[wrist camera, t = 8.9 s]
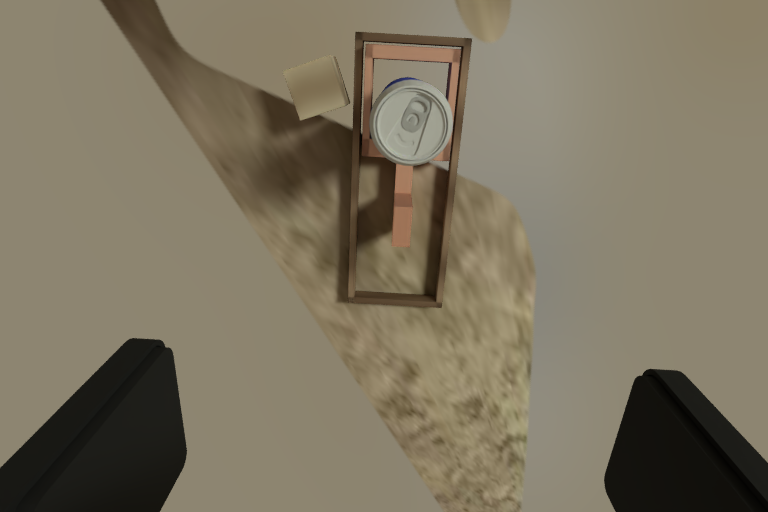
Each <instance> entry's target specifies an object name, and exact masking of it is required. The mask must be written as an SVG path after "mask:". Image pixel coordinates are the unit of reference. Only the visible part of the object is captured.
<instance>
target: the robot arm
mask: <svg viewBox="0 0 768 512" xmlns="http://www.w3.org/2000/svg"><path fill="white" fill-rule="evenodd" d="M186 449H187V448H186V441H185V434H184V427H183V420H182V413H181V406H180V399H179V392H178V385H177V378H176V370H175V364H174V356H173V352H172V350H171V349H170V348H166V347H165V345H164V343H163V341H161V340H154V339H137V338H132V339H129V340H128V341H126V342H125V343H124V344H123V345H122V346H121V347H120V348H119V349H118V350H117V351H116V352H115V353H114V354H113V355H112V356H111V357H110V358H109V359H108V360H107V361H106V362H105V363H104V364H103V365H102V366H101V367H100V368H99V370H97V371H96V372H95V373H94V374H93V375H92V376H91V377H90V378H89V379H88V381H86V382H85V383H84V384H83V385H82V386H81V387H80V389H78V390H77V391H76V392H75V394H73V395H72V396H71V397H70V399H68V400H67V401H66V402H65V403H64V404H63V406H61V407H60V409H58V410H57V412H56V413H55V414H54V415H53V416H52V417H51V418H50V419H49V420H48V421H47V422H46V423H45V424H44V425H43V426H42V427H41V428H40V429H39V430H38V431H37V432H36V433H35V434H34V435H33V436H32V437H31V438H30V439H29V440H28V441H27V442H26V443H25V444H24V445H23V446H22V447H21V448H20V449H19V450H18V451H17V452H16V453H15V454H14V455H13V456H12V457H11V458H10V459H9V460H8V461H7V462H6V463H5V464H4V465H3V466H2V467H1V468H0V512H160V510H161V508H162V506H163V505H164V503H165V501H166V499H167V497H168V495H169V493H170V492H171V490H172V488H173V486H174V484H175V482H176V480H177V478H178V477H179V475H180V473H181V471H182V469H183V467H184V463H185V460H186V454H187V450H186ZM604 482H605V489H606V493H607V495H608V497H609V499H610V501H611V503H612V505H613V507H614V509H615V511H616V512H768V463H767V462H766V461H765V459H763V458H762V456H761V455H760V454H759V453H758V452H757V451H756V450H755V449H754V448H753V447H752V446H751V445H750V443H748V442H747V440H746V439H745V438H744V437H743V436H742V435H741V434H740V433H739V432H738V431H737V430H736V429H735V428H734V427H733V426H732V424H731V423H730V422H729V421H728V420H727V419H726V418H725V417H724V416H723V415H722V414H721V413H720V412H719V411H718V409H717V408H716V407H714V405H713V404H712V403H711V402H710V401H709V400H708V399H707V398H706V397H705V396H704V395H703V394H702V393H701V391H700V390H699V389H698V388H697V387H696V386H695V385H694V384H693V383H692V382H691V381H690V380H689V379H688V378H687V377H686V376H685V375H684V374H683V373H682V372H680V371H674V370H657V369H648V370H646V371H645V372H644V373H643V375H642V376H638V377H637V378H635V380H634V383H633V386H632V389H631V392H630V395H629V399H628V402H627V405H626V408H625V412H624V415H623V418H622V421H621V424H620V428H619V431H618V434H617V438H616V440H615V444H614V447H613V450H612V453H611V457H610V460H609V463H608V466H607V469H606V473H605V478H604Z"/></svg>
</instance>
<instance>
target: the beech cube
mask: <svg viewBox="0 0 768 512" xmlns="http://www.w3.org/2000/svg"><path fill="white" fill-rule="evenodd" d="M283 74H284V76H285V79H286V82H287V84H288V88H289V90H290V93H291V96H292V99H293V101H294V104H295V107H296V110H297V113H298V115H299V118H300V121H301V120H304V119H307V118H310V117H313V116H316V115H319V114H322V113H325V112H328V111H332V110H335V109H338V108H341V107H344V106H346V105H348V104H349V103H350V101H349V97H348V94H347V91H346V88H345V85H344V81H343V79H342V75H341V72H340V69H339V66H338V63H337V59H336V57H334V56H331V55H328V56H326V57H323V58H320V59H317V60H314V61H311V62H308V63H305V64H302V65H299V66H296V67H293V68H291V69H287V70H284V71H283Z"/></svg>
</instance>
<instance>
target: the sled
mask: <svg viewBox="0 0 768 512" xmlns="http://www.w3.org/2000/svg"><path fill="white" fill-rule="evenodd" d="M460 54H461V49H445V48H427V47H411V46H394V45H376V44H366V52H365V81H364V111H363V136H362V156H368V157H384V156H383V155H382V154H381V153H380V152H379V150H378V149H377V148H376V146H375V144H374V142H373V140H372V137H371V134H370V127H369V120H370V114H371V110H372V93H373V69H374V59H389V60H390V59H391V60H407V61H424V62H441V63H442V62H443V63H449V69H448V79H447V90H446V99H447V101H448V103H449V105H450V108H451V111H452V116H453V120H454V111H455V101H456V92H457V82H458V73H459V63H460ZM452 129H453V127H452ZM451 139H452V133H451V136H450V139H449V141H448V143H447V145H446V147H445V148H444V149H443V151H442V152H441V153H440V154H439V155H438V156H437V157H435V158H434V159H432V160H437V161H449V158H450V148H451ZM385 158H386V157H385ZM412 174H413V166H404V165H399V164H397V163H396V176H395V192H394V208H393V224H392V246H397V247H410V234H411V222H412V209H413V206H412V198H411V187H412Z"/></svg>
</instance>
